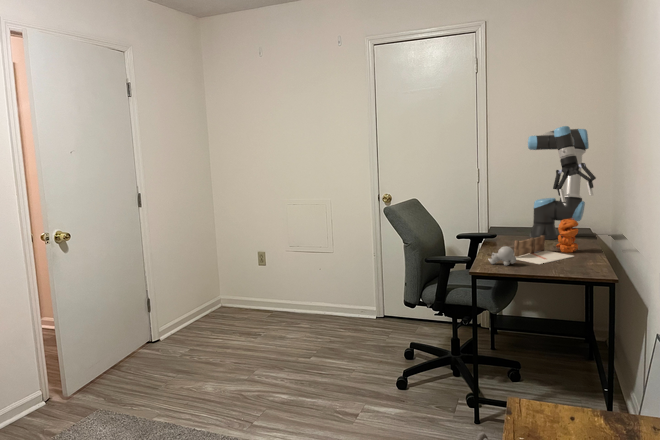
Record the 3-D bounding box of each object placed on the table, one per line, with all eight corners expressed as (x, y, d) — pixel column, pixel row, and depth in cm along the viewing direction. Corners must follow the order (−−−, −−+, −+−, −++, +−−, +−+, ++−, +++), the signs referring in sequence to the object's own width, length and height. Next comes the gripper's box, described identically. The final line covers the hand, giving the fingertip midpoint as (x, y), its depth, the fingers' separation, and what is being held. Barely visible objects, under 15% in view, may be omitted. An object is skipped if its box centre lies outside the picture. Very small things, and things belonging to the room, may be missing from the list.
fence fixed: (541, 250, 262) (541, 235, 261) (545, 250, 260) (545, 235, 259) (528, 253, 255) (529, 237, 254) (532, 254, 254) (533, 238, 253)
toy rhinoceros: (493, 267, 241) (486, 251, 241) (518, 259, 236) (511, 242, 236) (491, 270, 234) (484, 253, 235) (517, 262, 229) (510, 245, 230)
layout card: (501, 256, 252) (501, 255, 252) (535, 249, 266) (535, 248, 266) (539, 264, 234) (540, 263, 234) (574, 256, 247) (574, 255, 247)
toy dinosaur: (569, 254, 252) (570, 219, 249) (551, 251, 261) (552, 216, 259) (584, 252, 257) (585, 217, 254) (565, 248, 266) (566, 214, 264)
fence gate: (528, 252, 255) (528, 237, 254) (532, 253, 253) (532, 237, 252) (513, 256, 247) (513, 240, 246) (517, 256, 246) (517, 241, 245)
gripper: (540, 164, 258) (549, 204, 255) (590, 149, 239) (600, 192, 236) (547, 164, 263) (556, 204, 260) (596, 149, 244) (606, 192, 241)
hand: (577, 198), depth 248 cm, fingers open, 13 cm apart
